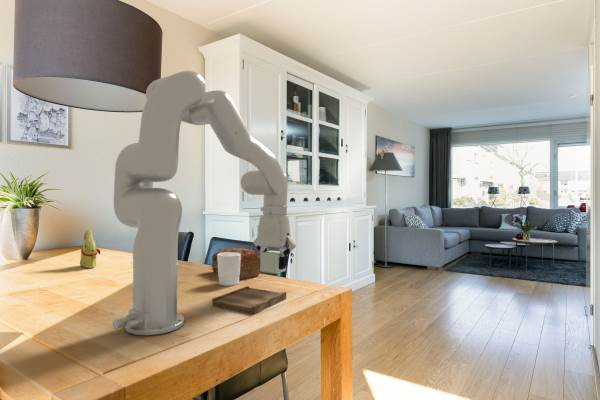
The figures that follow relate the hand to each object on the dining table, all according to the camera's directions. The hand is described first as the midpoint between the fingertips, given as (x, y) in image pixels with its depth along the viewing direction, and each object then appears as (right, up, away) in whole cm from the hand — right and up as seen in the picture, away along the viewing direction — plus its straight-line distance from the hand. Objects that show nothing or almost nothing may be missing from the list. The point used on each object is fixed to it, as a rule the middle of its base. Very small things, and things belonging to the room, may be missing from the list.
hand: (273, 267), depth 119 cm
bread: (-16, -7, +22) cm, 28 cm away
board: (-5, -7, -14) cm, 17 cm away
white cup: (-16, -7, +7) cm, 18 cm away
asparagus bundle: (-76, -6, +32) cm, 83 cm away
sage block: (0, -1, 0) cm, 1 cm away
